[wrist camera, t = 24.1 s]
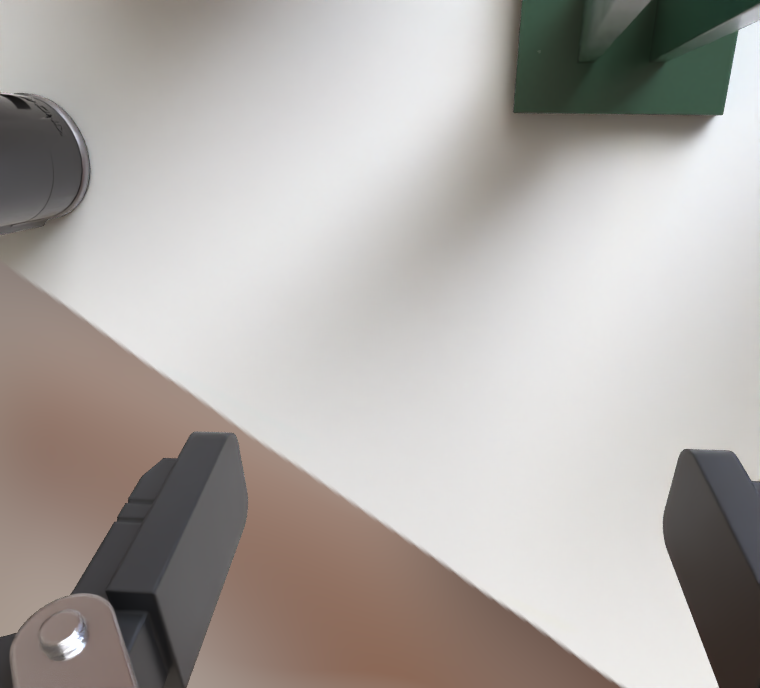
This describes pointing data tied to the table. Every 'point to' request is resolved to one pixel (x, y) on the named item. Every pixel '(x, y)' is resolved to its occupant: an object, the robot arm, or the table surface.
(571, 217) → the table surface
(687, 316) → the table surface
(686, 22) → the green upright stand
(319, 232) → the table surface
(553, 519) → the table surface
